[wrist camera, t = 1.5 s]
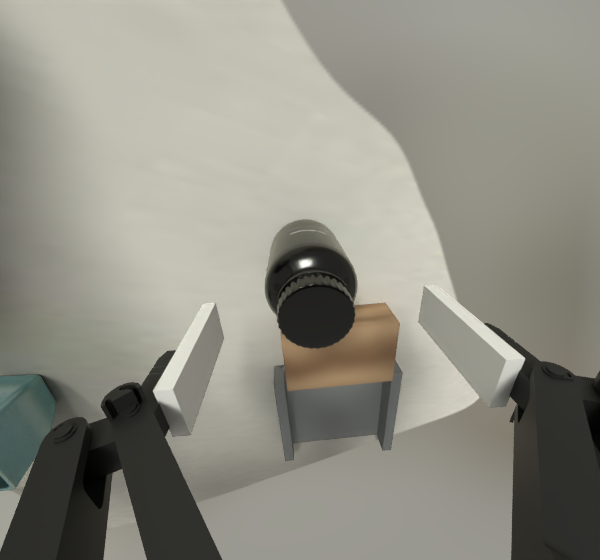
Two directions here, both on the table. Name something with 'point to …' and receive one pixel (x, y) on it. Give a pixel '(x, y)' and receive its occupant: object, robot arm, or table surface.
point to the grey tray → (336, 411)
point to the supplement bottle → (310, 285)
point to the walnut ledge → (347, 353)
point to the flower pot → (22, 424)
